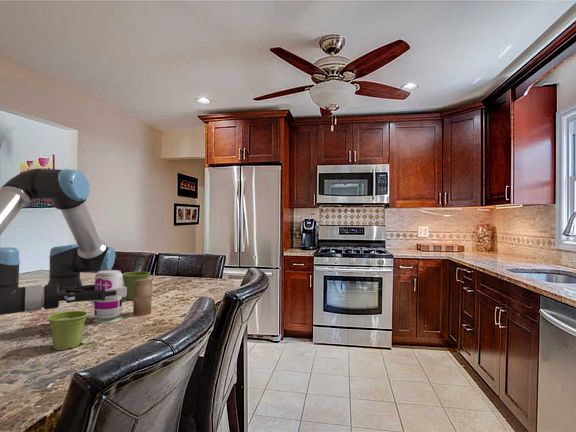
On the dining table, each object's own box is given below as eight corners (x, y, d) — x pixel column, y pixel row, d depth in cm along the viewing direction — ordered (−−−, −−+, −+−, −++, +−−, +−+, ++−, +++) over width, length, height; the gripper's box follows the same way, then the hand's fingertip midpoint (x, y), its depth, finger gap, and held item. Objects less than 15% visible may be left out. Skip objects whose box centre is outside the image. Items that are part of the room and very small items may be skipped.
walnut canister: (131, 312, 119) (132, 279, 119) (148, 310, 122) (149, 278, 123) (135, 316, 114) (136, 282, 114) (153, 314, 118) (153, 280, 118)
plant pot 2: (142, 302, 139) (143, 275, 140) (115, 301, 140) (115, 275, 140) (154, 295, 151) (154, 271, 151) (129, 295, 152) (129, 271, 152)
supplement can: (109, 319, 107) (110, 274, 107) (88, 317, 108) (89, 272, 109) (126, 313, 115) (127, 270, 115) (106, 311, 116) (107, 269, 117)
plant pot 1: (59, 340, 95) (60, 310, 95) (93, 339, 95) (94, 310, 96) (38, 353, 85) (38, 320, 85) (75, 352, 86) (76, 319, 86)
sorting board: (89, 318, 115) (89, 315, 115) (149, 310, 127) (149, 306, 127) (96, 331, 102) (96, 327, 102) (161, 320, 115) (161, 316, 115)
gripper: (42, 302, 109) (117, 294, 123) (43, 317, 92) (130, 306, 106) (43, 280, 109) (118, 274, 123) (43, 291, 92) (130, 282, 106)
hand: (123, 288), depth 114 cm, fingers closed on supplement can, 8 cm apart
